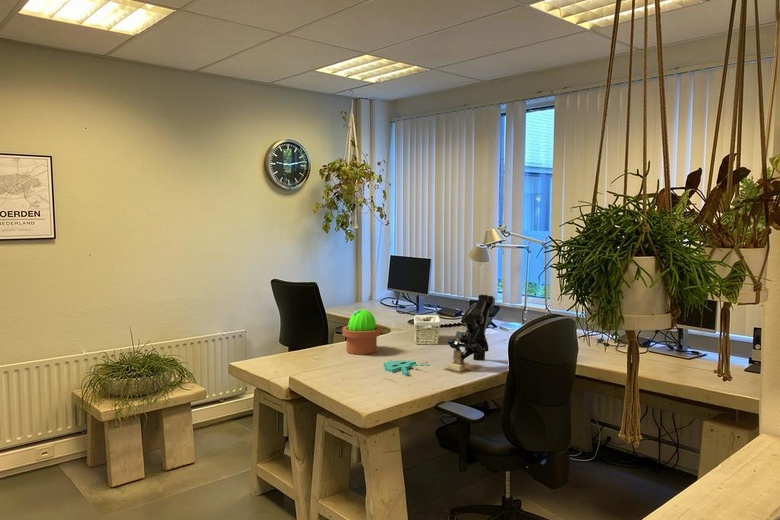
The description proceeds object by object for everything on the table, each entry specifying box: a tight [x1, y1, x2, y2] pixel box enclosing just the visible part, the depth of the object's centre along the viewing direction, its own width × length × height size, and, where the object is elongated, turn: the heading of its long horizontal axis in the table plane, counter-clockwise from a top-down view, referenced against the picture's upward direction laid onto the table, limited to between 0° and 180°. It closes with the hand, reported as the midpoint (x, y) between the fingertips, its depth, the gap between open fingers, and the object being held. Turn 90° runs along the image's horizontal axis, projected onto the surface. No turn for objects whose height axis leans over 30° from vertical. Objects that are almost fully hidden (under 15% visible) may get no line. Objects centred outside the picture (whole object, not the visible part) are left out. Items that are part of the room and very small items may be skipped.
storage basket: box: [413, 314, 441, 345], centre depth 359 cm, size 24×16×15 cm
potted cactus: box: [342, 309, 382, 356], centre depth 330 cm, size 22×22×25 cm
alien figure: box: [383, 359, 430, 377], centre depth 296 cm, size 20×2×20 cm
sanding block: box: [447, 350, 470, 372], centre depth 289 cm, size 8×7×9 cm
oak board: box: [441, 363, 482, 375], centre depth 291 cm, size 18×12×2 cm, turn 137°
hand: (457, 359), depth 288 cm, fingers closed on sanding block, 4 cm apart
